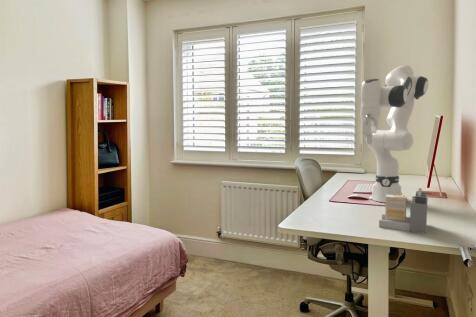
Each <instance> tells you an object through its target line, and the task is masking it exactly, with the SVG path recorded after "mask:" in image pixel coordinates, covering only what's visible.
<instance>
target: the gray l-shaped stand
mask: <svg viewBox="0 0 476 317" xmlns="http://www.w3.org/2000/svg"><path fill="white" fill-rule="evenodd" d="M422 189H423V188H422V187H420V188H418V190H417V191H415V195H412V197H411V200H410V208H409V212H410V214H409V216H407V215H406V222H397V221H388V220H385V213H382V214H381V219H378V227H379V228H383V229H385V228H386V229H391V230H392V229H393V230H402V231H409V233H416V234H417V233H418V234H427V224H428V223H427V221H428V202H429V201H428V197H427V192H426V191H423V190H422Z"/></svg>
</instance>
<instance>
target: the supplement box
mask: <svg viewBox="0 0 476 317" xmlns="http://www.w3.org/2000/svg"><path fill="white" fill-rule="evenodd" d="M407 198H408V197H407V195H403V194H402V195H388V194H387V195H386V203H385V212H384V214H385V220H388V221H397V222H406V216H407Z"/></svg>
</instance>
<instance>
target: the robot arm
mask: <svg viewBox="0 0 476 317" xmlns="http://www.w3.org/2000/svg"><path fill="white" fill-rule="evenodd" d="M384 82H385V85H384V86H381V80H380V79H379V78H371V79H365V80H363V82H362V84H361V90H360V100H361V101H360V102H361V104H360V108H359V109H360V111H359V112H360V114H359V115H360V116H359V117H360V119H362V132H361V133H362V135H363V136H366V137H365V144H366V146H367V147H368V148H369V149H370V150H371V151H372V153H373V154H374V157H375V159H376V160H375V161H376V174H375V183H373V184H372V190H371V191H372V192H371V195H370V196H369V197H368V199H369V200H372V201H375V202H377V203H384V204H386V195H387V194H388V195H402V196H403V193H402V186H401V185H400V177H399V166H400V164H399V161H398V159H396V158H395V157H394V156H393V155H392V154H391V151H394V152H395V151H396V152H401V151H409V150H411V148H412V146H413V144H414V138H413V135H412V133H411V132H410V131H409V130H408V125H409V120H410V118H411V116H412V113H413V110H414V105H415V100H419V99H420V98H421V97H423V96H424V95H426V92H427V91H428V89H429V80H428V78H427V77H425V76H419V75H414V69H413V68H412V66H410V65H407V64H402V65H399V66H396V67H395V68H393V69H392V70H391V71H390V72H389V73H388V74H387V75H386V77H385V81H384ZM381 108H390V110H389V112H388V114H387V116H386V123H387V125H388V127H390V128H391V129H388V130H387V129H378V123H379V119H380V118H381Z"/></svg>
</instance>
